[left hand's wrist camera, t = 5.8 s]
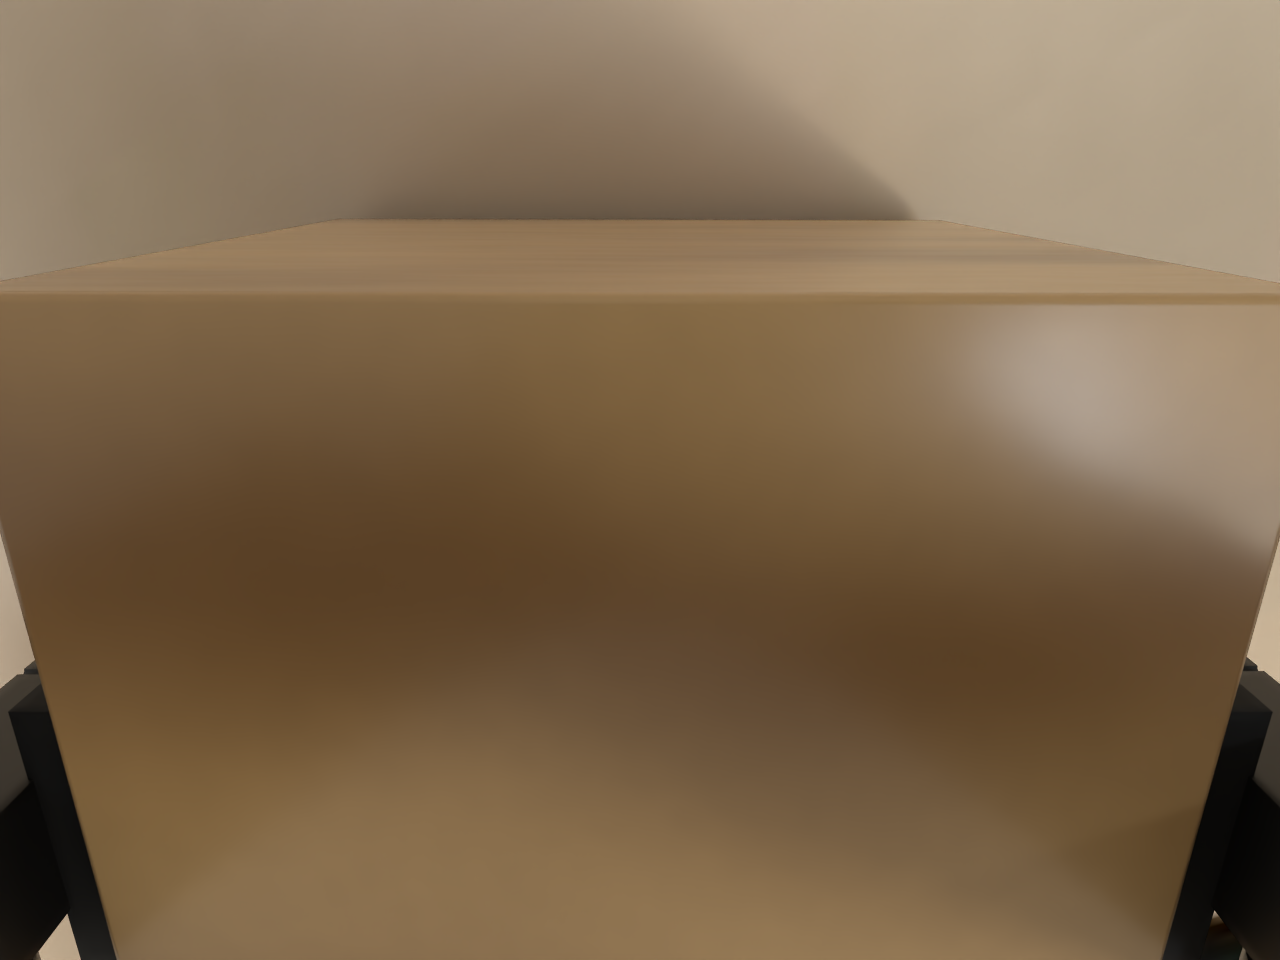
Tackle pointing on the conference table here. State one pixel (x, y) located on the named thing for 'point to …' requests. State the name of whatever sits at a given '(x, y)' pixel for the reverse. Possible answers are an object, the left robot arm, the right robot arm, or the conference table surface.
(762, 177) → the conference table surface
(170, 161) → the conference table surface
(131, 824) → the wide beam
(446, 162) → the conference table surface
